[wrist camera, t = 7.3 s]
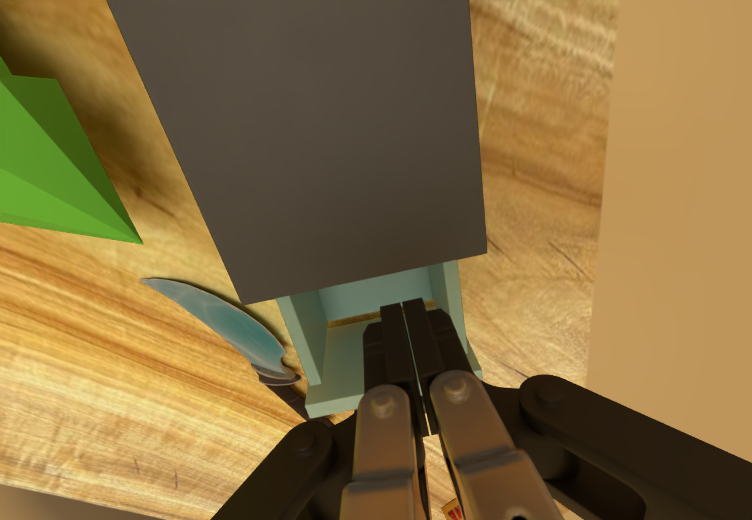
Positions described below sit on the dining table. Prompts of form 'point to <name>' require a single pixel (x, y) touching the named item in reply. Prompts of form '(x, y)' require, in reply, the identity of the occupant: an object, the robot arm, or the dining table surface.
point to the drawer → (361, 329)
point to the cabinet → (318, 132)
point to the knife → (240, 338)
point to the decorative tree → (53, 165)
